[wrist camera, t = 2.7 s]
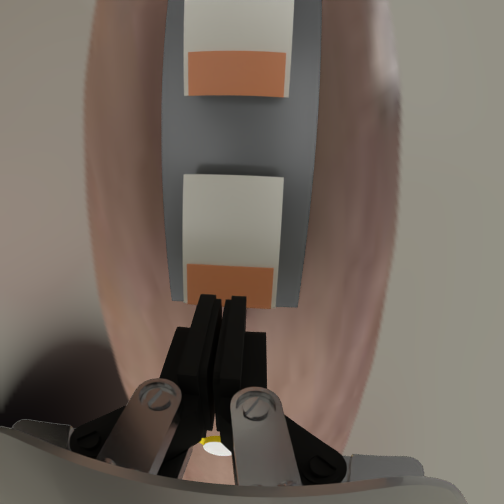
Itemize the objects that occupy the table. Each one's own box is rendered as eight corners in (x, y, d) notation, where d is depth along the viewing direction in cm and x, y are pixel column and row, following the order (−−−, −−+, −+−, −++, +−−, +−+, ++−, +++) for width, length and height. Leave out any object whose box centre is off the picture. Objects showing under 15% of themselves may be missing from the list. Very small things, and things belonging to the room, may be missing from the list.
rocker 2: (190, 174, 13) (182, 174, 12) (281, 177, 13) (284, 177, 12) (190, 291, 14) (183, 303, 13) (273, 296, 14) (275, 309, 13)
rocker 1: (193, -23, 8) (185, -31, 7) (292, -23, 8) (295, -32, 7) (191, 91, 11) (183, 96, 10) (286, 93, 11) (288, 97, 10)
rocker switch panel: (189, -7, 12) (168, -40, 8) (309, -5, 12) (324, -39, 8) (190, 314, 22) (176, 360, 18) (285, 319, 22) (290, 367, 17)
